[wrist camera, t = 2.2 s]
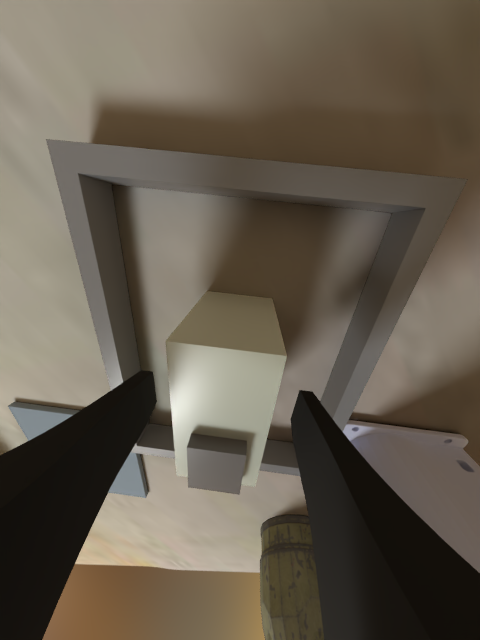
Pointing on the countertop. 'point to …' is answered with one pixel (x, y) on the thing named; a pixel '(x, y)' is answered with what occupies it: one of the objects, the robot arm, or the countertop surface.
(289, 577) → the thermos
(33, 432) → the rubber mat
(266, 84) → the countertop surface
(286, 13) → the countertop surface
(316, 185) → the gray rectangular frame
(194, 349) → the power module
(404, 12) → the countertop surface
